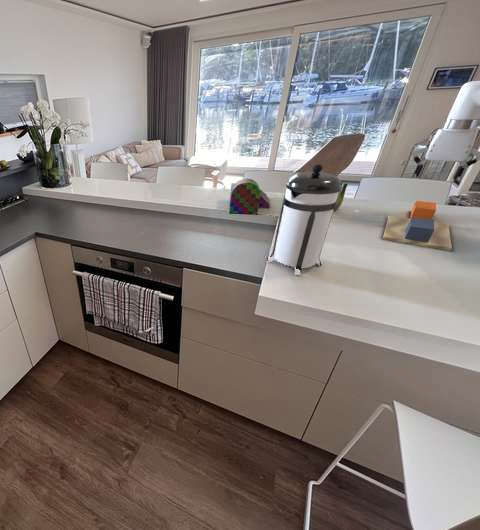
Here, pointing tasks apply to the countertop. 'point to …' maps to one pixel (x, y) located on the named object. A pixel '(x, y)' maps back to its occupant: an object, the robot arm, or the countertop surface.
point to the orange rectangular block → (423, 210)
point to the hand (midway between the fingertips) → (435, 177)
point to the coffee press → (305, 217)
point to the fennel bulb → (340, 196)
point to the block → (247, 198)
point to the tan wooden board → (397, 233)
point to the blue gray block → (419, 229)
